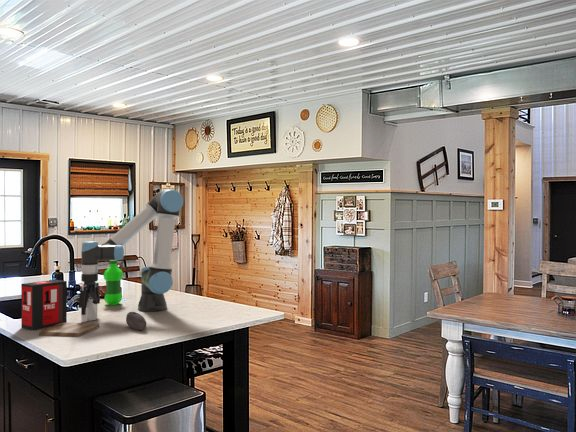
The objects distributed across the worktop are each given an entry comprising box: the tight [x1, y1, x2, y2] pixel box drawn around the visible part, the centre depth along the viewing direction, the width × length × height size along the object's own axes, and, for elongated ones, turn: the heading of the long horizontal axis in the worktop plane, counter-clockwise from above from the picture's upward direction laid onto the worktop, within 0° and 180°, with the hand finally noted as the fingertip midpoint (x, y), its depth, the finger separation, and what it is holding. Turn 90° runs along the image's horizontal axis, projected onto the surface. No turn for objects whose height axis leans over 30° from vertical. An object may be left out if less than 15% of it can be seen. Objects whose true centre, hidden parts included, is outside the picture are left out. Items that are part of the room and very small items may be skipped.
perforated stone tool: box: [125, 311, 147, 332], centre depth 226 cm, size 15×5×7 cm, turn 41°
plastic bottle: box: [103, 260, 124, 306], centre depth 285 cm, size 10×10×25 cm
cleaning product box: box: [20, 279, 68, 331], centre depth 231 cm, size 16×9×20 cm, turn 148°
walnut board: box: [38, 322, 100, 337], centre depth 222 cm, size 18×18×2 cm
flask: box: [86, 298, 98, 322], centre depth 245 cm, size 7×7×10 cm
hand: (89, 319), depth 245 cm, fingers open, 9 cm apart
